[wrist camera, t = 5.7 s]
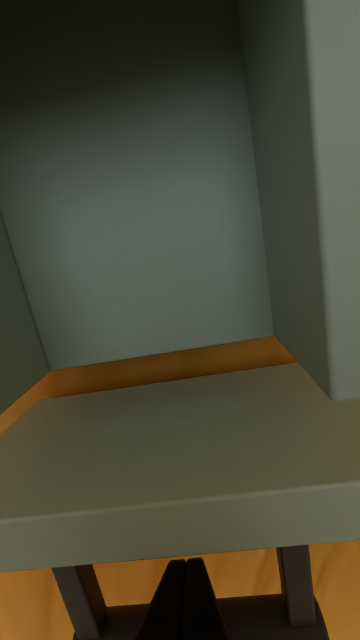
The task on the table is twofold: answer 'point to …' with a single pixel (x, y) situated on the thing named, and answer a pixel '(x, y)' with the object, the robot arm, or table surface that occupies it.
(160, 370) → the table surface
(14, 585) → the table surface
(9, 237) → the drawer
